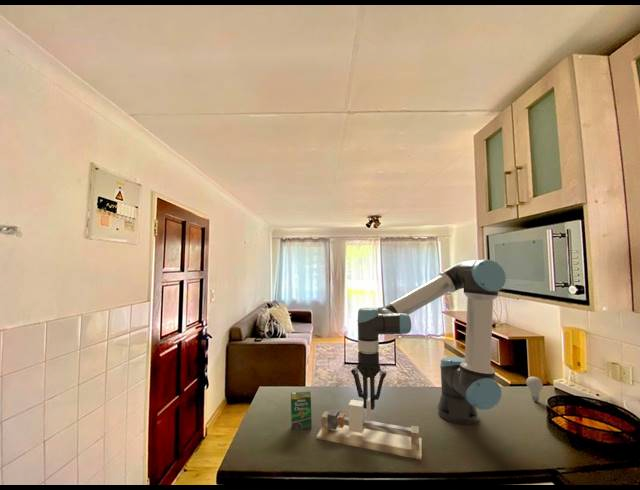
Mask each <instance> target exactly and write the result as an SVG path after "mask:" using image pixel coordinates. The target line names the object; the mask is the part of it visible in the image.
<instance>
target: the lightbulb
mask: <svg viewBox="0 0 640 490" xmlns="http://www.w3.org/2000/svg"><path fill="white" fill-rule="evenodd" d="M525 381H526V386H527V387H528V389H529V391H530V395H531V400H532V401H534V402H535V401H537V402H539V400H540V394H541V391H542V389H543V388H544V387H543V386H544V384H543V382H542V380H541V379H540V378H539V377H537V376H529V377H527V378H526V380H525Z"/></svg>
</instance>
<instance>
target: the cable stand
mask: <svg viewBox="0 0 640 490" xmlns="http://www.w3.org/2000/svg"><path fill="white" fill-rule="evenodd" d="M410 426H411V427H408V426H403V425H396V424H390V423H385V422H379V421H373V420H367V419H365V420H363V428H364V431H363V433H359V432H353V431H349V416H346V413H345V412H340V409H336V408H331V409H329V410H328V411H326V410H325V411H324V412H323V414H322V415H321V428H320V429H319V431H318V433H317V435H316V439H318V440H324V441H327V442H333V443H338V444H343V445H347V446H352V447H357V448H362V449H368V450H372V451H377V452H381V453H382V452H383V453H386V454H392V455H397V456H401V457H406V458H411V459H415V458H416V460H420V461H421V460H422V458H423V457H422V455H423V454H422V453H423V451H422V449H423V447H422V446H423V444H422V443H423V442H422V441H423V438H422V437H420V427H419V426H416V425H410Z"/></svg>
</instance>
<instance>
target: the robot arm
mask: <svg viewBox="0 0 640 490" xmlns="http://www.w3.org/2000/svg"><path fill="white" fill-rule="evenodd" d="M506 276H507V275H506V271H505V270H504V268H503V267H502V266H501V265H500V264H499V263H498V262H496V261H494V260H493V259H492V260H491V259H485V258H482V259H466V260H461V261H458V262H456V263H455V264H453V265H451V266H450V267H449V266H448V267H447V268H446V269H444V270H443V271H441V272H439V273H438V276H436V277H434V279H431V280H429V281H427V282H426V283H424V284H423V285H420V286H419V287H417V288H416V289H414V290H412V291H410V292H408V293H406V294H405V295H403V296H401V297H399V298H397V299H396V300H394V301H392V302H390V303H389V304H387V305H385V306H379V307H361V308H359V309H358V310H357V321H356V322H357V349H358V352H357V353H358V354H357V358H358V359H357V364H356V366H355V367H353V368H352V369H351V370H350V372H351V374H352V376H353V379H354V382H355V387H356V392H357V395H358V397H359V398H361V399H363V400H362V401H364V408H365V410H366V420H368V421H372V418H373V411H374V410H375V407H376V404H375V403H376V401H378V400H379V399H380V395H381V394H382V393H381V391H382V388H383V387H382V386H383V384H384V379H386V376H387V371H386V370H383V369H382V368H381V365H380V354H379V349H380V345H379V344H380V343H379V341H380V340H379V335H405V334H409V333H411V331H412V321H411V316H410V314H412V313H414V312H416V311H418V310H419V309H421V308H424V306H426V305H428V304H430V303H432V302H434V301H435V300H437V299H439V298H441V297H442V296H445V295H446V294H448V293H454V292H457V291H458V290H461V289H463V294H464V295H465V296H466V298H467V300H466V301H467V302H466V303H467V304H466V324H465V325H466V327H465V347H464V357H459V356H458V357H457V356H449V357H443V358H442V359H441V360H440V366H439V367H440V381H441V382H440V383H441V393H440V397H439V401H438V404H437V412H438V413H437V414H438V415H439V416H440V417H441V418H443V419H444V420H446V421H448V422H451V423H454V424H458V425H467V426H468V425H473V424H476V423H477V422H478V421H479V413H478V410H477V409H479V410H483V411H487V410H491V409H493V408H495V406H497V405H498V404H499V403H500V401H501V398H502V395H503V393H502V388H501V386H500V384H499V383H498V381H496V370H495V369H494V368H493V367H492V365H491V364H492V362H491V360H492V357H491V356H492V336H493V335H492V333H493V312H494V311H493V308H494V300H496V299H497V298H498V297H499V291H500V290H501V289H502V288H503V287H504V286H505V284H506V281H507V280H506V279H507V277H506ZM359 373H360V375H361V376H362V382H363V383H361V379H360V375H359ZM378 374H379V377H380V378H379V380H378V385H377V389H376V391H375V387H376V386H375V385H376V384H375V379H376V378H375V377H376V376H377V375H378ZM368 378H369V387H368ZM368 388H370V390H369V389H368ZM368 391H370V394H369V393H368ZM369 395H370V396H369Z"/></svg>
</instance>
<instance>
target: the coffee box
mask: <svg viewBox="0 0 640 490" xmlns="http://www.w3.org/2000/svg"><path fill="white" fill-rule="evenodd" d="M290 412H291V413H290V415H291V416H290V417H291V419H290V420H291V422H290V423H291V425H290V426H291V430H292V431H294V430H295V431H297V430H298V431H299V430H311V429H312V426H313V425H312V419H313V418H312V394H311V391H299V392H295V391H293V392H291V393H290Z"/></svg>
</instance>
